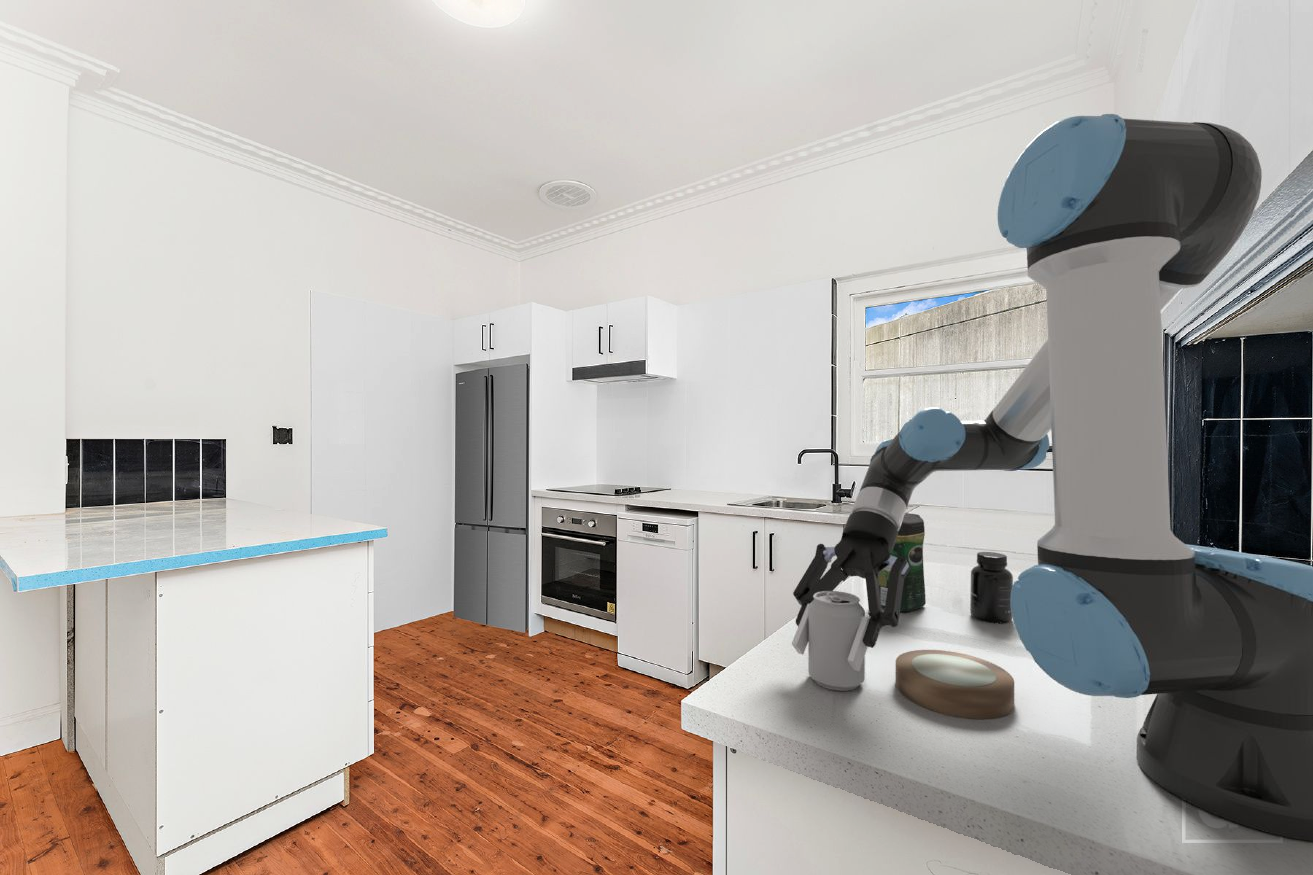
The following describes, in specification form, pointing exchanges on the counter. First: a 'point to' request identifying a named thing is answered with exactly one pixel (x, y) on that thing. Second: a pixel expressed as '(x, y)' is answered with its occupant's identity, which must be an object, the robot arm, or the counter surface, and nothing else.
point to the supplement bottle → (991, 589)
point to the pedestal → (955, 684)
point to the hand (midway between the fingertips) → (824, 656)
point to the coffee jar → (912, 550)
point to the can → (834, 639)
